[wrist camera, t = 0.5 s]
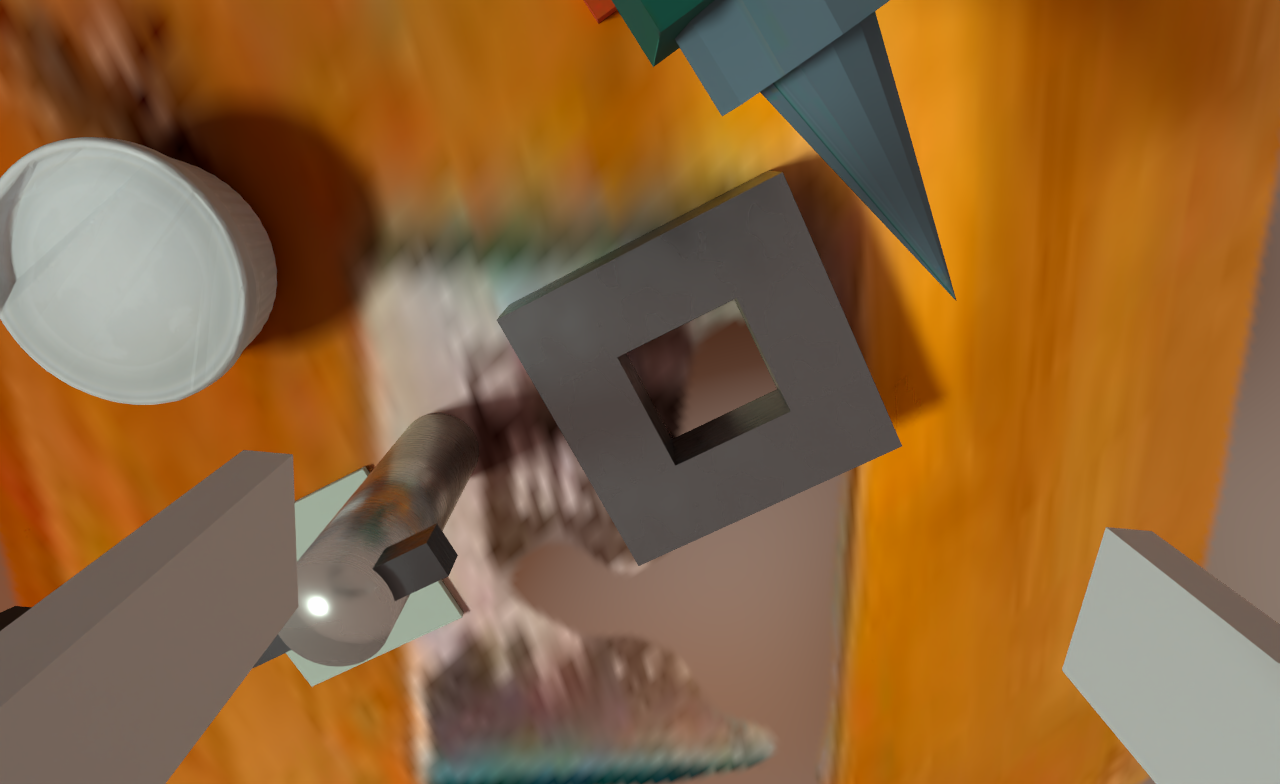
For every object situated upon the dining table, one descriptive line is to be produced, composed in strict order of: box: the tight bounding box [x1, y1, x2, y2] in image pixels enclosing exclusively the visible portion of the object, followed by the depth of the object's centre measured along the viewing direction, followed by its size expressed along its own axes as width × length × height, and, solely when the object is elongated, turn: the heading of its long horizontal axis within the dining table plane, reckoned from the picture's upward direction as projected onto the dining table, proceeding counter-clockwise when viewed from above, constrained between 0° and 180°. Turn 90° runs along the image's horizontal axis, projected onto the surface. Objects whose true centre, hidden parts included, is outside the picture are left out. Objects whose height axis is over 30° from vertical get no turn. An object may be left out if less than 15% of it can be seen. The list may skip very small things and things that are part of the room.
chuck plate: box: [497, 170, 902, 566], centre depth 37 cm, size 14×14×4 cm
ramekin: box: [0, 137, 277, 405], centre depth 34 cm, size 11×11×5 cm
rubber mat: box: [286, 467, 463, 686], centre depth 42 cm, size 10×10×1 cm
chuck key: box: [253, 413, 479, 668], centre depth 33 cm, size 4×8×15 cm, turn 117°
